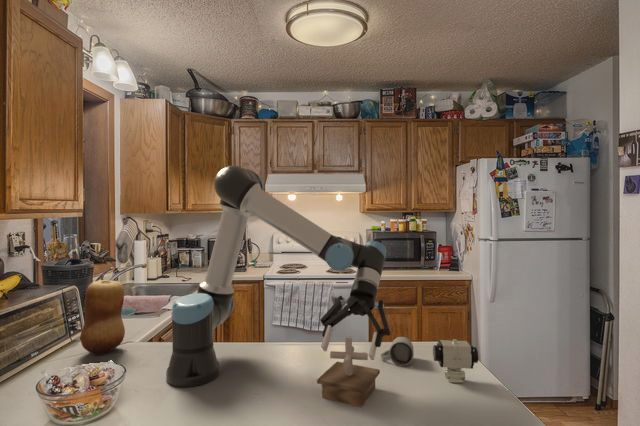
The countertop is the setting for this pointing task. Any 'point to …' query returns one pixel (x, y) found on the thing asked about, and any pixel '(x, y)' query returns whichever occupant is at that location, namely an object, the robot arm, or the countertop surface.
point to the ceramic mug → (399, 352)
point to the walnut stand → (348, 384)
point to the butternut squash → (103, 317)
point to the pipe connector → (348, 355)
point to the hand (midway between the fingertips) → (346, 353)
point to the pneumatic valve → (455, 358)
